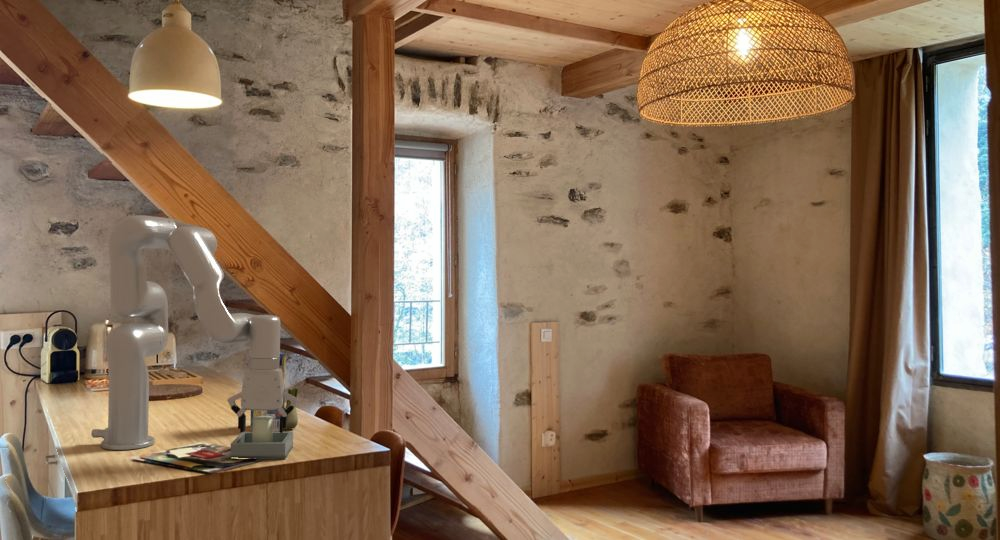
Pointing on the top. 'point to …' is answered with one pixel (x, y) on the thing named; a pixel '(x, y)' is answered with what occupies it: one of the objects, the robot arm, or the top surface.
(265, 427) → the white ceramic cup
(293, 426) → the fennel bulb
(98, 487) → the top surface
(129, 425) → the robot arm
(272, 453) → the bin
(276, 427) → the beverage box
